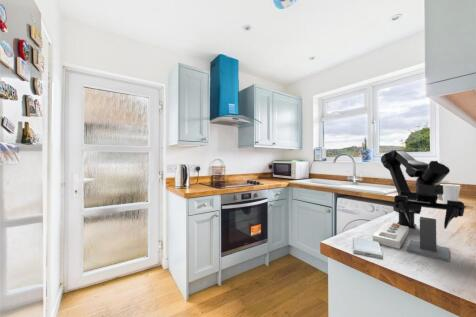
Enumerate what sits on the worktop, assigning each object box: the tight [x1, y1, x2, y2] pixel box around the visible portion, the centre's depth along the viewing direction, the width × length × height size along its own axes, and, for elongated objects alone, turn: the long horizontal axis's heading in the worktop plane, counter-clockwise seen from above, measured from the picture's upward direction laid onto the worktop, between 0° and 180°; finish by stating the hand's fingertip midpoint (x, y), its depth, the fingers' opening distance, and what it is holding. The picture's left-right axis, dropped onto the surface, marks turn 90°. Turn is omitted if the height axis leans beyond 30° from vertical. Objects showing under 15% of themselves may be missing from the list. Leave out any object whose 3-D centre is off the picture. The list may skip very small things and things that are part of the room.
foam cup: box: [439, 183, 461, 204], centre depth 138 cm, size 10×9×13 cm
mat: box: [406, 239, 450, 263], centre depth 69 cm, size 11×10×1 cm
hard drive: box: [352, 237, 384, 259], centre depth 71 cm, size 2×8×12 cm
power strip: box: [372, 222, 410, 250], centre depth 81 cm, size 22×8×3 cm, turn 133°
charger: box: [419, 216, 437, 252], centre depth 69 cm, size 4×4×10 cm
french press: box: [437, 179, 450, 201], centre depth 154 cm, size 10×12×25 cm
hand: (426, 225), depth 71 cm, fingers open, 9 cm apart
